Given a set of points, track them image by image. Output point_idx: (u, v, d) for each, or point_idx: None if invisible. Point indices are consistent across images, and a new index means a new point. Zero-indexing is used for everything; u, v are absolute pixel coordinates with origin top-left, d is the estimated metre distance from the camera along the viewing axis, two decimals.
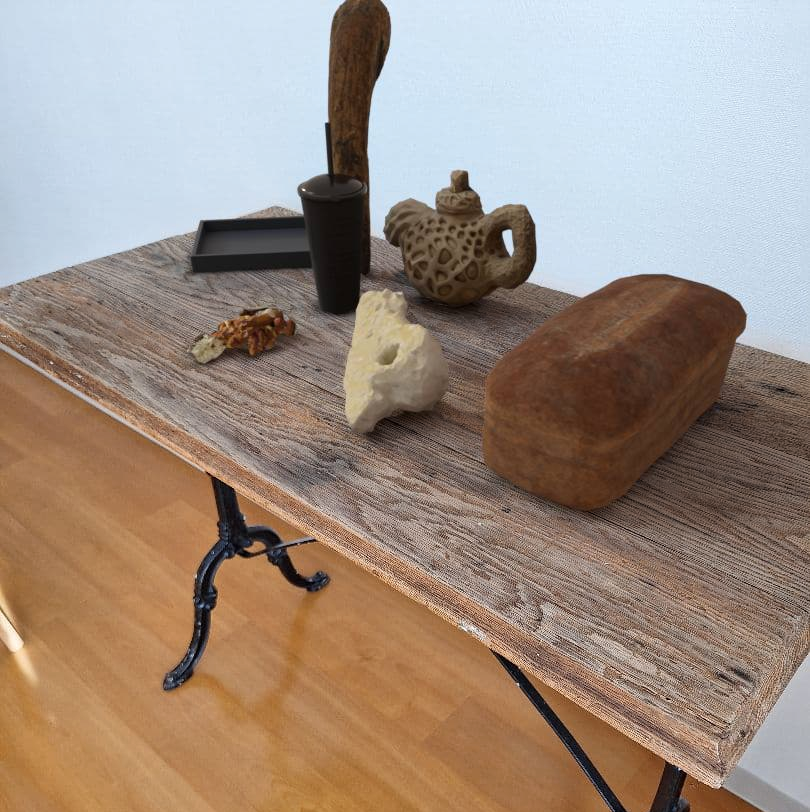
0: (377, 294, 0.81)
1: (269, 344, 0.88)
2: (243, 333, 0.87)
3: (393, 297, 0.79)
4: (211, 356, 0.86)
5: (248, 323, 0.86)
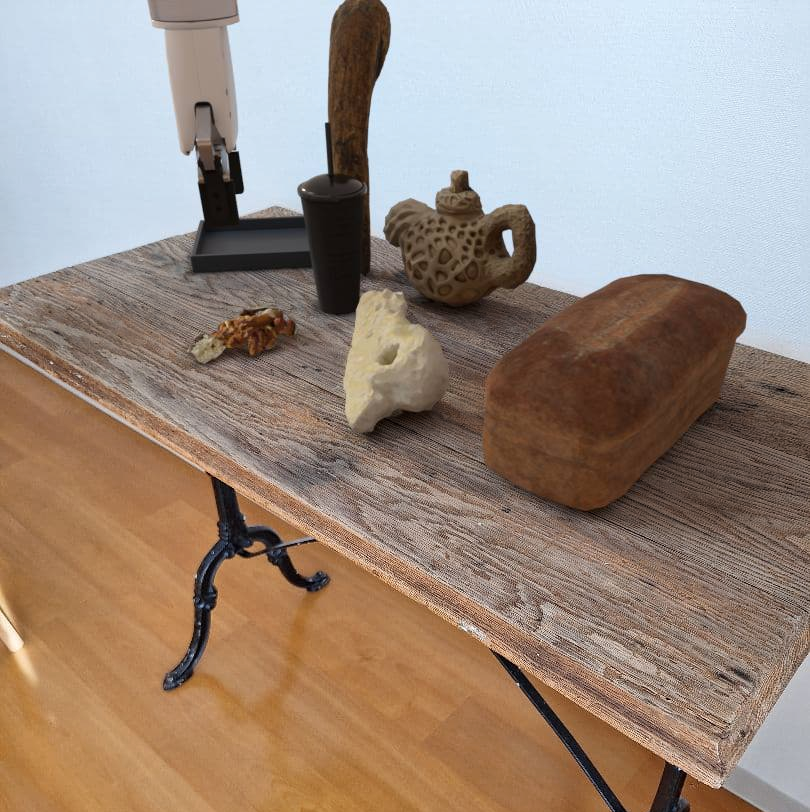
0: (377, 294, 0.81)
1: (269, 344, 0.88)
2: (243, 333, 0.87)
3: (393, 297, 0.79)
4: (211, 356, 0.86)
5: (248, 323, 0.86)
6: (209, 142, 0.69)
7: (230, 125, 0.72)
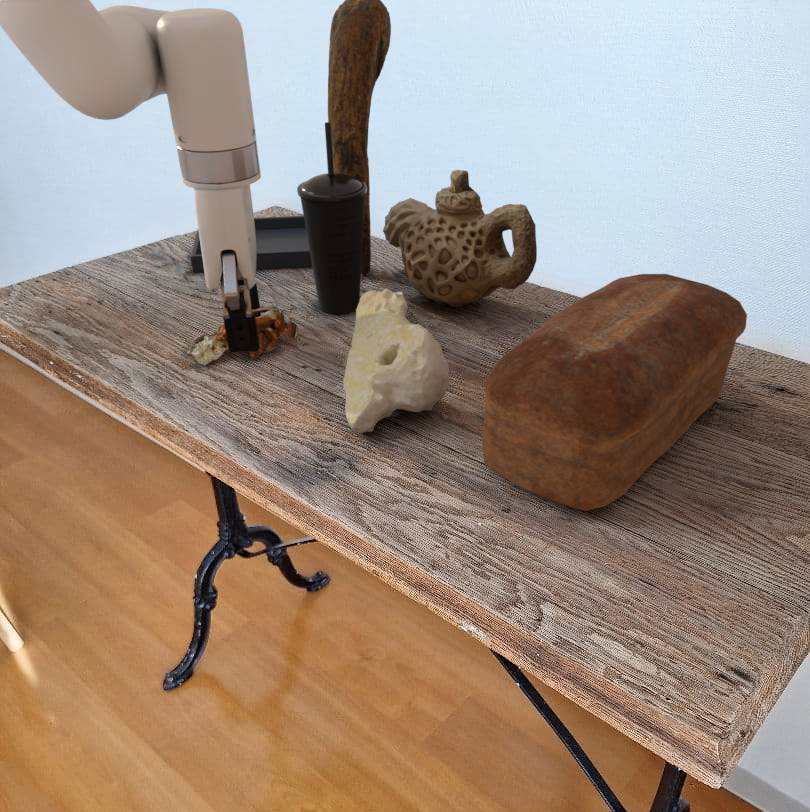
0: (377, 294, 0.81)
1: (269, 346, 0.88)
2: None
3: (393, 297, 0.79)
4: (211, 358, 0.86)
5: None
6: (236, 296, 0.78)
7: (252, 267, 0.80)
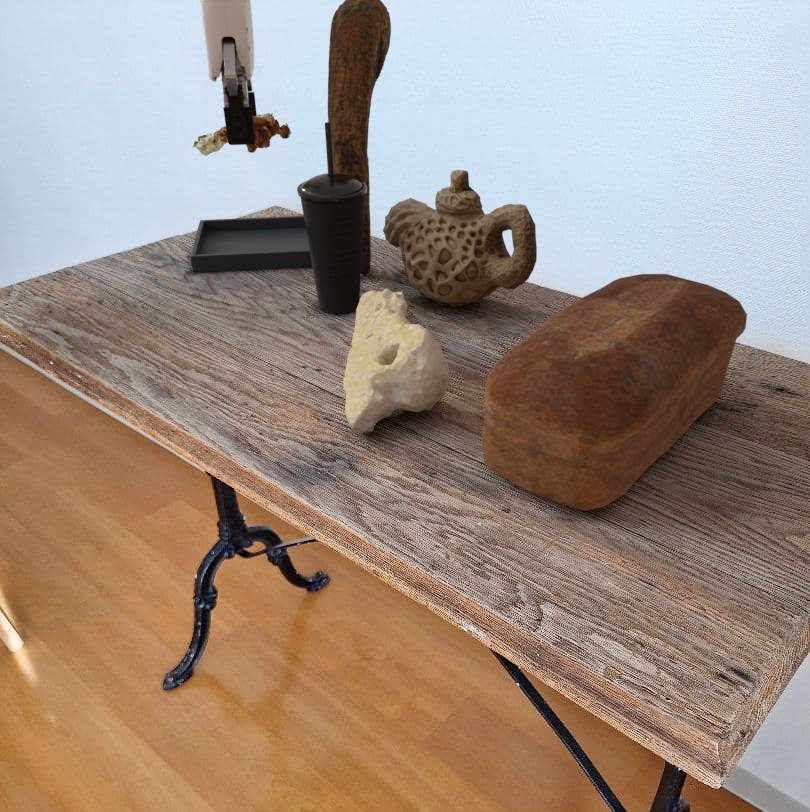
0: (377, 294, 0.81)
1: (265, 143, 0.99)
2: None
3: (393, 297, 0.79)
4: (212, 150, 0.97)
5: None
6: (234, 77, 0.89)
7: (249, 57, 0.91)
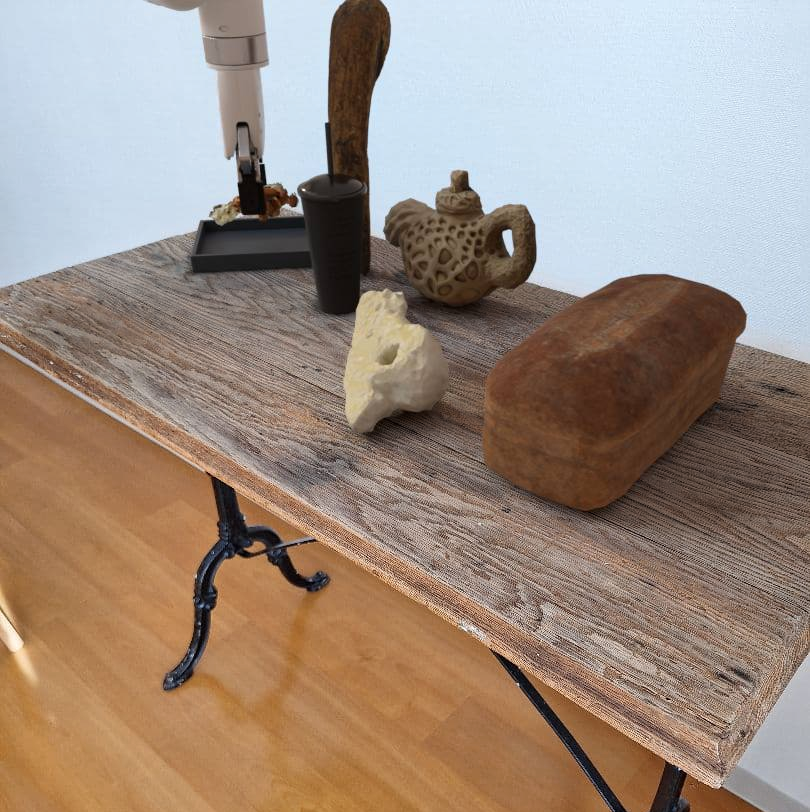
0: (377, 294, 0.81)
1: (275, 212, 1.07)
2: None
3: (393, 297, 0.79)
4: (227, 220, 1.05)
5: None
6: (248, 159, 0.97)
7: (261, 138, 0.99)
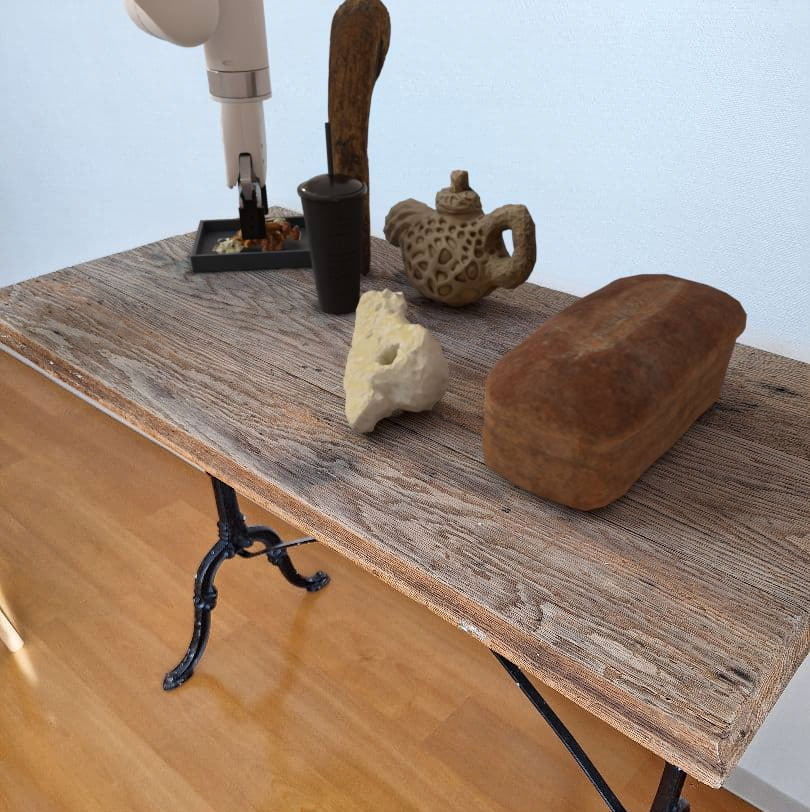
0: (377, 294, 0.81)
1: (278, 246, 1.09)
2: None
3: (393, 297, 0.79)
4: None
5: None
6: (249, 181, 0.98)
7: (263, 168, 1.01)
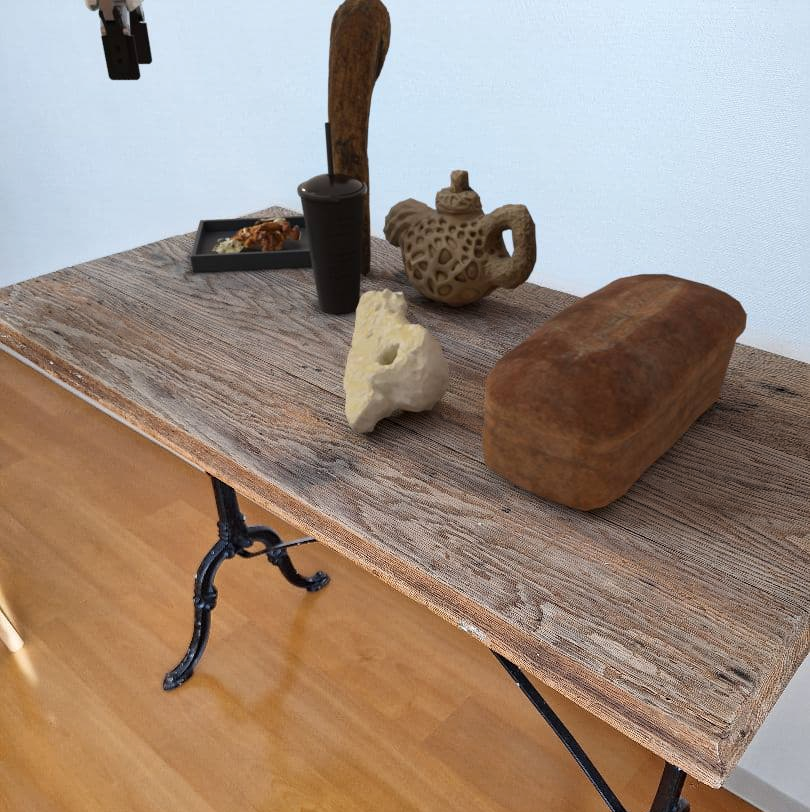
0: (377, 294, 0.81)
1: (278, 246, 1.09)
2: (257, 236, 1.08)
3: (393, 297, 0.79)
4: None
5: (261, 227, 1.08)
6: None
7: None
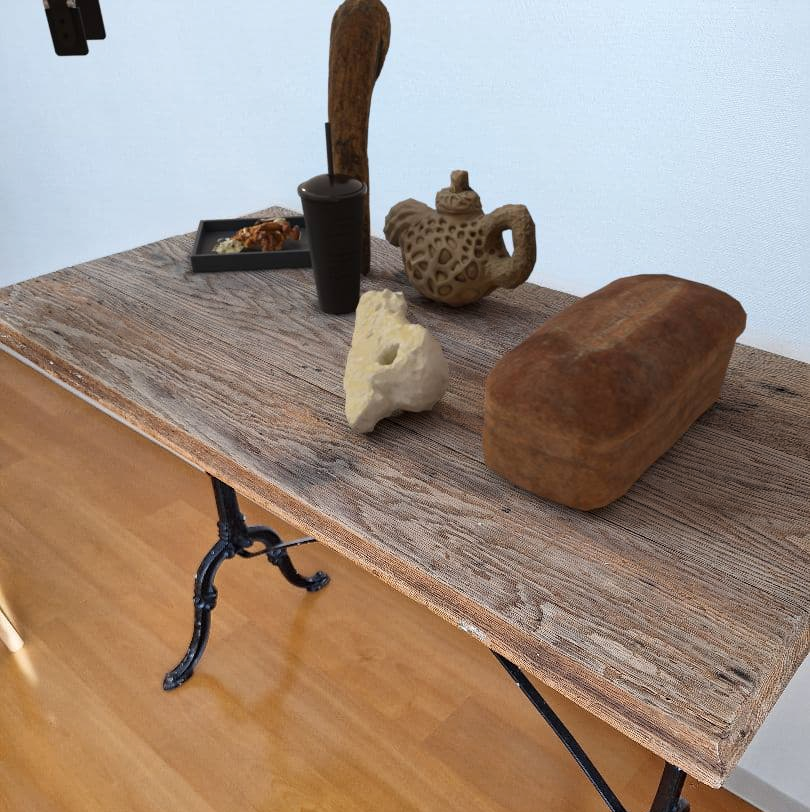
0: (377, 294, 0.81)
1: (278, 246, 1.09)
2: (257, 236, 1.08)
3: (393, 297, 0.79)
4: None
5: (261, 227, 1.08)
6: None
7: None
